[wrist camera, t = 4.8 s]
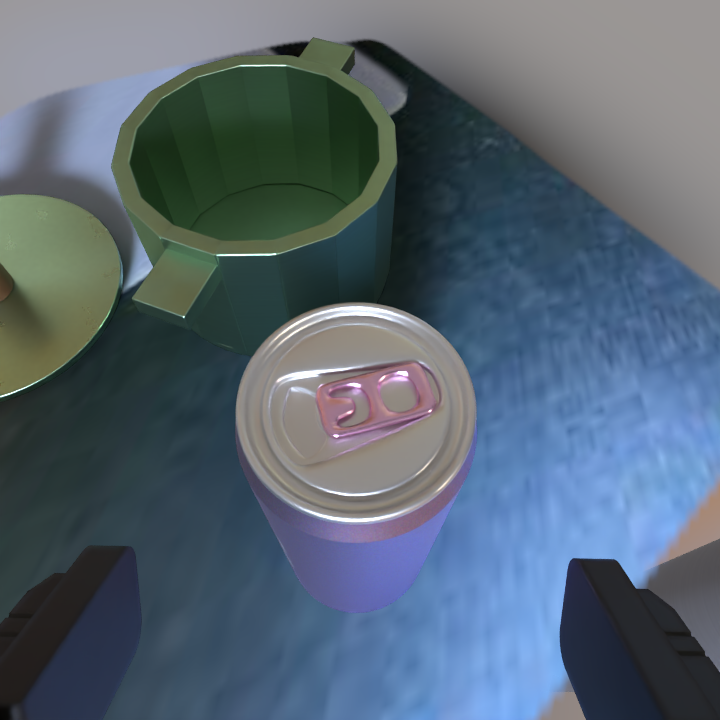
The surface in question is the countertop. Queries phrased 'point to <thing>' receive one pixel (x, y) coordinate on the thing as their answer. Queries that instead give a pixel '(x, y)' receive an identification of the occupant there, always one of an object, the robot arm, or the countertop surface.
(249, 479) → the beverage can
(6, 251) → the pot lid
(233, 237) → the pot
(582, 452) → the countertop surface
